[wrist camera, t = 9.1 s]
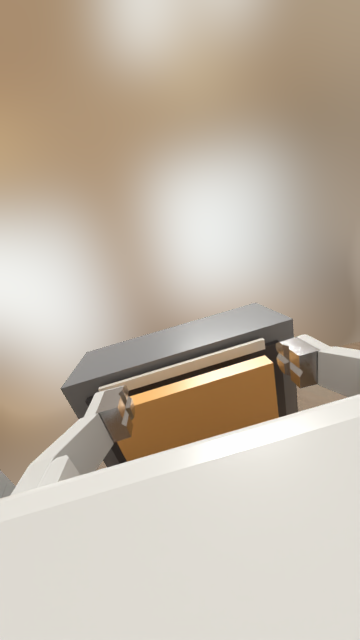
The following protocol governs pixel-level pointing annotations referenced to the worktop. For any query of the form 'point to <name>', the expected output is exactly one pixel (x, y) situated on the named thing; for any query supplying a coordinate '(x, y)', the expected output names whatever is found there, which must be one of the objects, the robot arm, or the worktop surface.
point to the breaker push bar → (202, 407)
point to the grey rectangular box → (183, 359)
